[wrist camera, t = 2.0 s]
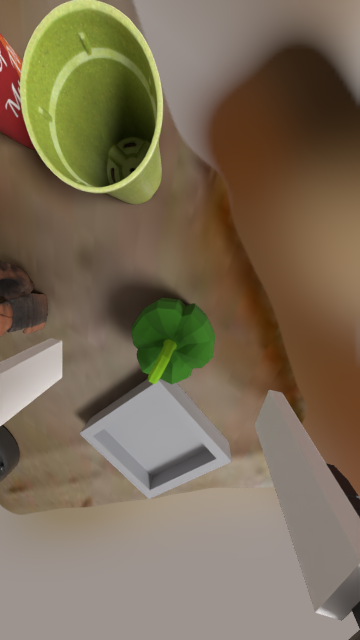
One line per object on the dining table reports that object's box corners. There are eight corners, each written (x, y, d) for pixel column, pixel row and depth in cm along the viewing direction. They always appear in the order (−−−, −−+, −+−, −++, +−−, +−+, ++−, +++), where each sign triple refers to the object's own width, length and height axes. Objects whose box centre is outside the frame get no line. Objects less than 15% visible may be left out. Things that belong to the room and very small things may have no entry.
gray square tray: (153, 478, 33) (148, 499, 30) (90, 417, 30) (79, 433, 27) (228, 442, 29) (231, 461, 26) (163, 368, 26) (158, 380, 23)
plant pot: (172, 107, 18) (148, -28, 10) (182, 214, 20) (171, 178, 12) (84, 129, 19) (-3, 24, 11) (104, 226, 22) (46, 202, 13)
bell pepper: (181, 276, 22) (168, 284, 13) (223, 326, 24) (238, 367, 14) (134, 318, 25) (93, 351, 15) (174, 362, 26) (159, 418, 16)
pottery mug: (41, 345, 28) (-43, 360, 21) (23, 299, 31) (-57, 299, 24) (63, 291, 22) (-46, 289, 15) (38, 239, 25) (-63, 218, 18)
